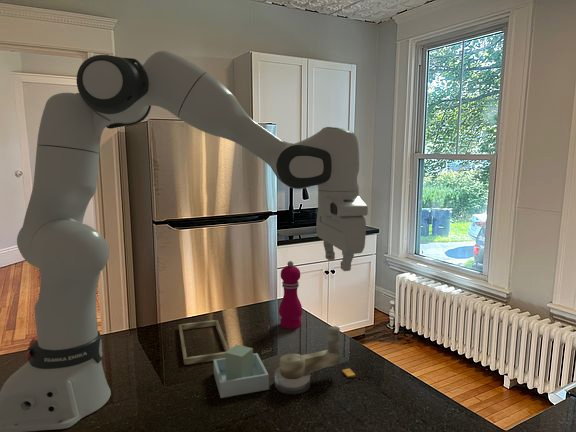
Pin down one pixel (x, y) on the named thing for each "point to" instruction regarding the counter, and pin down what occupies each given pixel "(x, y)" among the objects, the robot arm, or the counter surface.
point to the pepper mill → (290, 297)
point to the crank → (312, 358)
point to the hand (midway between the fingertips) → (337, 264)
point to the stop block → (239, 362)
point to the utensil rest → (202, 357)
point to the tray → (241, 379)
